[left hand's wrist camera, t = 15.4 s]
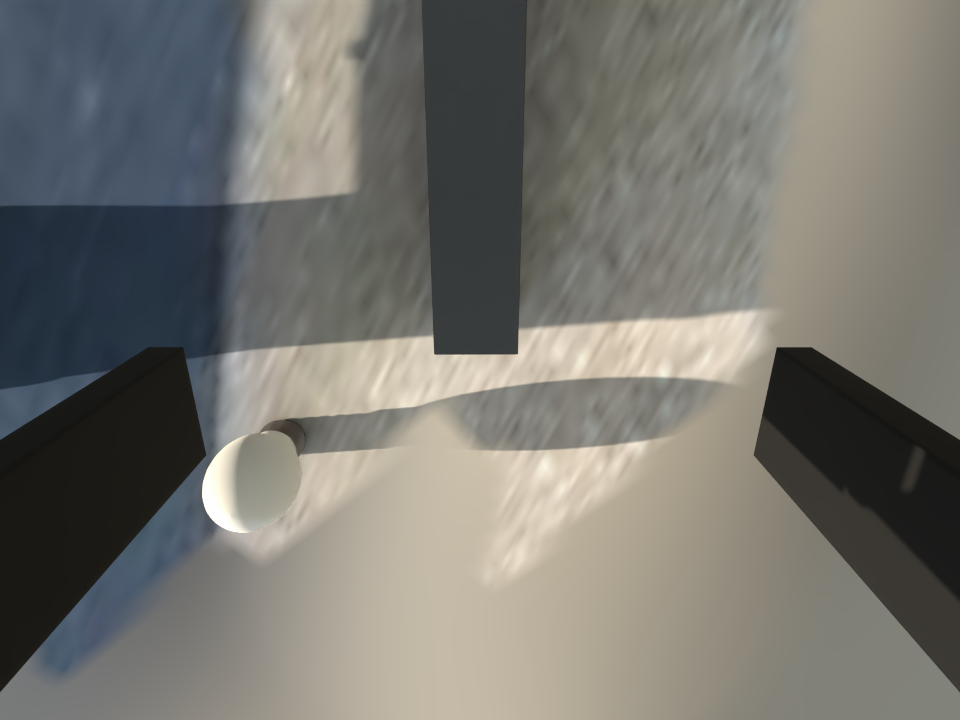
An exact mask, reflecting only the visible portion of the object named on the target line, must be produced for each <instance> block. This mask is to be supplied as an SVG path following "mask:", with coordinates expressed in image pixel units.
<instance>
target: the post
mask: <svg viewBox="0 0 960 720" xmlns="http://www.w3.org/2000/svg"><path fill="white" fill-rule="evenodd" d="M526 14H527V0H422V20H423V48H424V76H425V105H426V133H427V162H428V190H429V219H430V247H431V275H432V304H433V332H434V354H435V355H440V354H518V328H519V289H520V249H521V210H522V171H523V132H524V92H525V53H526Z"/></svg>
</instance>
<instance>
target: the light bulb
mask: <svg viewBox="0 0 960 720" xmlns="http://www.w3.org/2000/svg"><path fill="white" fill-rule="evenodd" d="M304 446H305V435H304V432H303V430H302V429H301V428H300V427H299V426H298V425H297V424H295V423H293V422H290V421H285V420H279V421H274V422H271V423H269V424H267V425H266V426H265V427H264V428H263V429H262V430H261V431H260V433H256V434H250V435H246V436H243V437H241V438H238V439H236V440H235V441H233V442H231V443H230V444H228V445H227V446H225V447H224V448H223V449H222V450H221V451H220V452H219V453H218V454H217V455H216V456H215V458H214V459H213V461H212V462H211V464H210V466H209V467H208V469H207V472H206V475H205V478H204V481H203V490H202V497H203V502H204V506H205V509H206V511H207V513H208V515H209V516H210V517H211V519H212V520H213V521H214V522H215V523H217V524H218V525H219V526H221V527H223V528H225V529H227V530H230V531H234V532H241V533H246V532H252V531H257V530H260V529H263V528H265V527H267V526H269V525H270V524H272V523H274V522H275V521H277V520H278V519H279V518H280V517H281V516H282V515H283V514H284V513H285V512H286V511H288V509H289V508H290V506H291V505H292V503H293V502H294V500H295V498H296V496H297V493H298V491H299V488H300V484H301V475H302V471H301V464H300V460H299V455H300V454H301V452H302V450H303V448H304Z"/></svg>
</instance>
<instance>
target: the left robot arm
mask: <svg viewBox="0 0 960 720" xmlns="http://www.w3.org/2000/svg"><path fill="white" fill-rule="evenodd" d="M205 456H206V452H205V447H204V442H203V438H202V433H201V428H200V424H199V419H198V414H197V410H196V405H195V400H194V396H193V391H192V386H191V382H190V377H189V372H188V368H187V363H186V358H185V354H184V349H183V347H148V348H147V349H145V350H144V351H142V352H140V353H139V354H137V355H136V356H134V357H132V358H131V359H129V360H128V361H126V362H124V363H123V364H121V365H120V366H118V367H116V368H115V369H113V370H112V371H110V372H108V373H107V374H105V375H104V376H102V377H100V378H99V379H97V380H96V381H94V382H92V383H91V384H89V385H88V386H86V387H84V388H83V389H81V390H80V391H78V392H76V393H75V394H73V395H72V396H70V397H68V398H67V399H65V400H63V401H62V402H60V403H59V404H57V405H55V406H54V407H52V408H51V409H49V410H47V411H46V412H44V413H43V414H41V415H39V416H38V417H36V418H35V419H33V420H31V421H30V422H28V423H27V424H25V425H23V426H22V427H20V428H19V429H17V430H15V431H14V432H12V433H11V434H9V435H7V436H6V437H4V438H3V439H1V440H0V692H1V691H2V689H3V688H4V687H5V686H6V685H7V684H8V682H9V681H10V680H11V679H12V678H13V677H14V676H15V674H16V673H17V672H18V671H19V670H20V669H21V668H22V666H23V665H24V664H25V663H26V662H27V661H28V660H29V658H30V657H31V656H32V655H33V654H34V653H35V651H36V650H37V649H38V648H39V647H40V646H41V645H42V643H43V642H44V641H45V640H46V639H47V638H48V637H49V635H50V634H51V633H52V632H53V631H54V630H55V628H56V627H57V626H58V625H59V624H60V623H61V622H62V620H63V619H64V618H65V617H66V616H67V615H68V614H69V612H70V611H71V610H72V609H73V608H74V607H75V605H76V604H77V603H78V602H79V601H80V600H81V599H82V597H83V596H84V595H85V594H86V593H87V592H88V591H89V589H90V588H91V587H92V586H93V585H94V584H95V583H96V581H97V580H98V579H99V578H100V577H101V576H102V574H103V573H104V572H105V571H106V570H107V569H108V568H109V566H110V565H111V564H112V563H113V562H114V561H115V560H116V558H117V557H118V556H119V555H120V554H121V553H122V551H123V550H124V549H125V548H126V547H127V546H128V545H129V543H130V542H131V541H132V540H133V539H134V538H135V537H136V535H137V534H138V533H139V532H140V531H141V530H142V528H143V527H144V526H145V525H146V524H147V523H148V522H149V520H150V519H151V518H152V517H153V516H154V515H155V514H156V512H157V511H158V510H159V509H160V508H161V507H162V505H163V504H164V503H165V502H166V501H167V500H168V499H169V497H170V496H171V495H172V494H173V493H174V492H175V491H176V489H177V488H178V487H179V486H180V485H181V484H182V482H183V481H184V480H185V479H186V478H187V477H188V476H189V474H190V473H191V472H192V471H193V470H194V469H195V468H196V466H197V465H198V464H199V463H200V462H201V461H202V459H203V458H204V457H205ZM754 456H755V457H756V458H757V459H758V461H759V462H760V463H761V464H762V465H763V466H764V468H765V469H766V470H767V471H768V472H769V473H770V474H771V476H772V477H773V478H774V479H775V480H776V481H777V482H778V484H779V485H780V486H781V487H782V488H783V489H784V491H785V492H786V493H787V494H788V495H789V496H790V497H791V499H792V500H793V501H794V502H795V503H796V504H797V505H798V507H799V508H800V509H801V510H802V511H803V512H804V513H805V515H806V516H807V517H808V518H809V519H810V520H811V522H812V523H813V524H814V525H815V526H816V527H817V528H818V530H819V531H820V532H821V533H822V534H823V535H824V537H825V538H826V539H827V540H828V541H829V542H830V543H831V545H832V546H833V547H834V548H835V549H836V550H837V551H838V553H839V554H840V555H841V556H842V557H843V558H844V560H845V561H846V562H847V563H848V564H849V565H850V566H851V568H852V569H853V570H854V571H855V572H856V573H857V574H858V576H859V577H860V578H861V579H862V580H863V581H864V583H865V584H866V585H867V586H868V587H869V588H870V589H871V591H872V592H873V593H874V594H875V595H876V596H877V597H878V599H879V600H880V601H881V602H882V603H883V604H884V605H885V607H886V608H887V609H888V610H889V611H890V612H891V614H892V615H893V616H894V617H895V618H896V619H897V620H898V622H899V623H900V624H901V625H902V626H903V627H904V628H905V630H906V631H907V632H908V633H909V634H910V635H911V637H912V638H913V639H914V640H915V641H916V642H917V643H918V645H919V646H920V647H921V648H922V649H923V650H924V651H925V653H926V654H927V655H928V656H929V657H930V658H931V660H932V661H933V662H934V663H935V664H936V665H937V666H938V668H939V669H940V670H941V671H942V672H943V673H944V674H945V676H946V677H947V678H948V679H949V680H950V681H951V683H952V684H953V685H954V686H955V687H956V688H957V689H958V691H959V692H960V440H959V439H957V438H956V437H954V436H953V435H951V434H949V433H948V432H946V431H945V430H943V429H941V428H940V427H938V426H937V425H935V424H933V423H932V422H930V421H929V420H927V419H925V418H924V417H922V416H920V415H919V414H917V413H916V412H914V411H912V410H911V409H909V408H908V407H906V406H905V405H903V404H901V403H900V402H898V401H896V400H895V399H893V398H892V397H890V396H888V395H887V394H885V393H884V392H882V391H880V390H879V389H877V388H876V387H874V386H872V385H871V384H869V383H868V382H866V381H864V380H863V379H861V378H860V377H858V376H856V375H855V374H853V373H852V372H850V371H848V370H847V369H845V368H844V367H842V366H840V365H839V364H837V363H836V362H834V361H832V360H831V359H829V358H828V357H826V356H824V355H823V354H821V353H820V352H818V351H816V350H815V349H813V348H811V347H777V349H776V354H775V358H774V363H773V368H772V372H771V377H770V382H769V387H768V391H767V396H766V401H765V405H764V410H763V415H762V419H761V424H760V428H759V433H758V438H757V442H756V447H755V452H754Z"/></svg>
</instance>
